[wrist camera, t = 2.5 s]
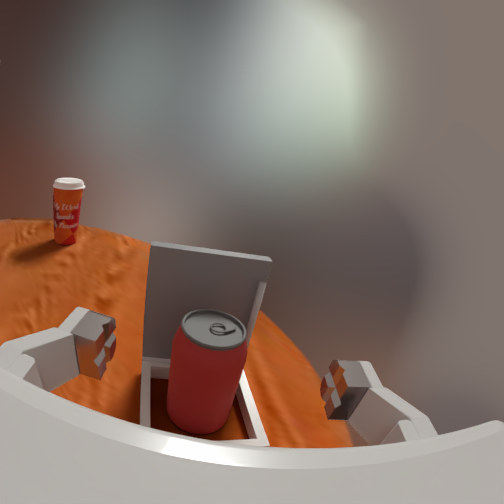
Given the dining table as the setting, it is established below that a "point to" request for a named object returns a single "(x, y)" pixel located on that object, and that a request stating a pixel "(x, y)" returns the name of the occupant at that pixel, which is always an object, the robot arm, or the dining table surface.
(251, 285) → the case
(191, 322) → the beer can
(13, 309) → the dining table surface
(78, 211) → the paper cup
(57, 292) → the dining table surface
